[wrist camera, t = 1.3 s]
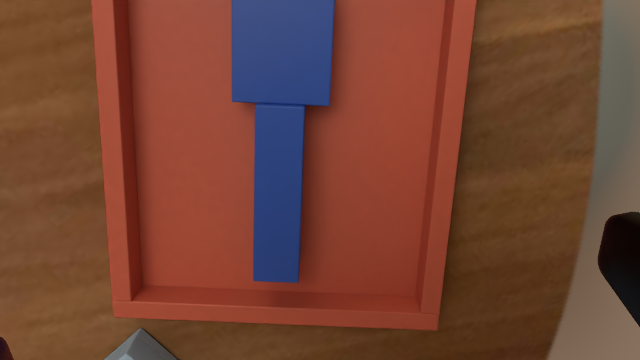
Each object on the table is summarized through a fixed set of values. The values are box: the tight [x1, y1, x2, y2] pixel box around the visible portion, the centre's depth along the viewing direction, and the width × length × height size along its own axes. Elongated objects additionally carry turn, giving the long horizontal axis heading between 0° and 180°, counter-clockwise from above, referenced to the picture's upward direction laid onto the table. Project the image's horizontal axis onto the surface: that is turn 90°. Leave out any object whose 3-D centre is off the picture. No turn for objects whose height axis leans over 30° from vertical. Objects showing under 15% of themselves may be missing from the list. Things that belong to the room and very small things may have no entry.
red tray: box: [91, 0, 477, 330], centre depth 22 cm, size 16×14×2 cm
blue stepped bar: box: [232, 0, 335, 283], centre depth 21 cm, size 11×4×2 cm, turn 177°
